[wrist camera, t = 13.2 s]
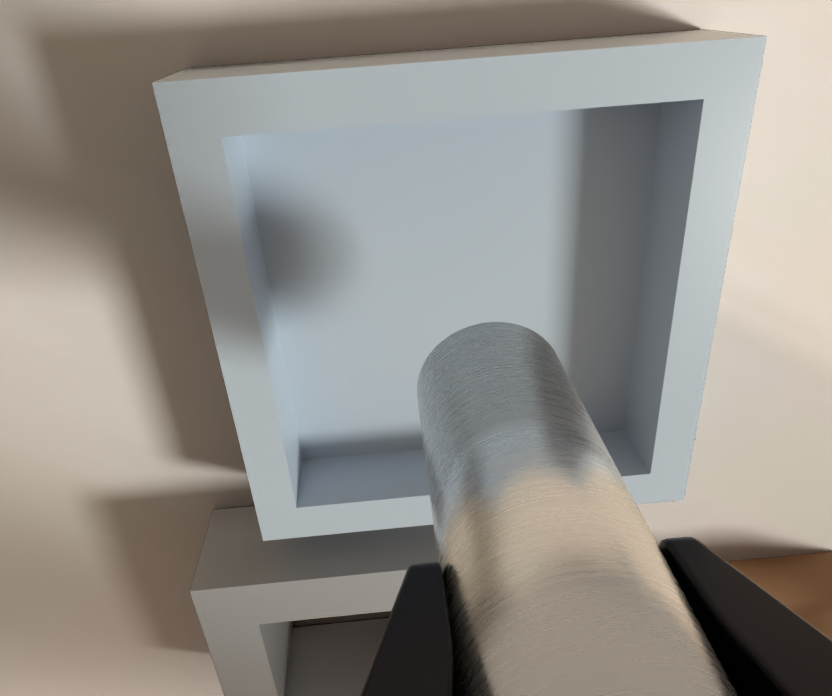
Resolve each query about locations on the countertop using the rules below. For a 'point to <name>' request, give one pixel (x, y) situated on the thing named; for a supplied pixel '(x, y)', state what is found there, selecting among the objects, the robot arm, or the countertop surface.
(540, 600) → the stop pin
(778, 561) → the block
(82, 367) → the countertop surface
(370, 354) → the tray
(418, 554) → the pin socket
